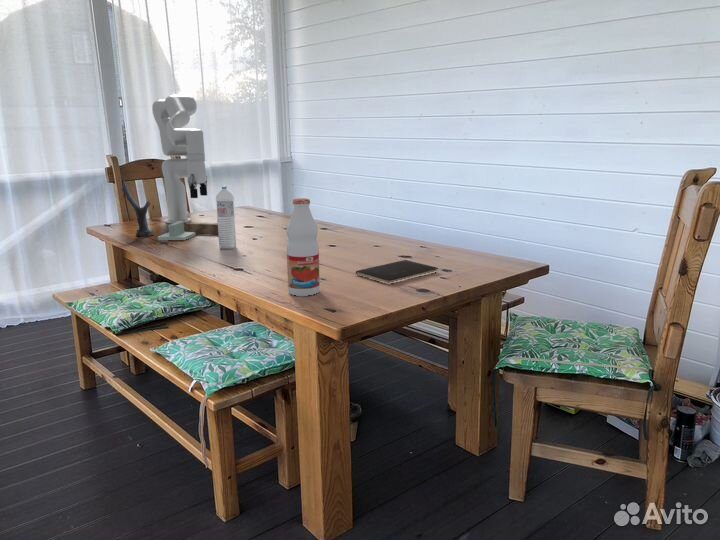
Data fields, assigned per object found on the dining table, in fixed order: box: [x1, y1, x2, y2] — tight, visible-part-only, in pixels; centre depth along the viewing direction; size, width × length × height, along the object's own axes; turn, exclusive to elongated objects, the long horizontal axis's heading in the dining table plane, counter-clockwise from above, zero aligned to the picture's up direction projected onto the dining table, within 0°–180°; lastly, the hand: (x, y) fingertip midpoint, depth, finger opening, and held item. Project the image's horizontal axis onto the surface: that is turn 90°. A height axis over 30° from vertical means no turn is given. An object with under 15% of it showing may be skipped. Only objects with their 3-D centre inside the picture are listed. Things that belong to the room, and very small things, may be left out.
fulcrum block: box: [157, 221, 197, 241], centre depth 255 cm, size 12×12×6 cm
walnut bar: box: [184, 221, 218, 236], centre depth 265 cm, size 16×4×5 cm, turn 81°
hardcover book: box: [355, 259, 439, 283], centre depth 194 cm, size 16×23×2 cm
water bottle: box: [215, 185, 237, 250], centre depth 232 cm, size 7×7×25 cm
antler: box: [120, 180, 154, 238], centre depth 257 cm, size 12×8×25 cm
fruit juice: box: [286, 198, 321, 297], centre depth 170 cm, size 9×9×28 cm
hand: (199, 196), depth 261 cm, fingers open, 9 cm apart
